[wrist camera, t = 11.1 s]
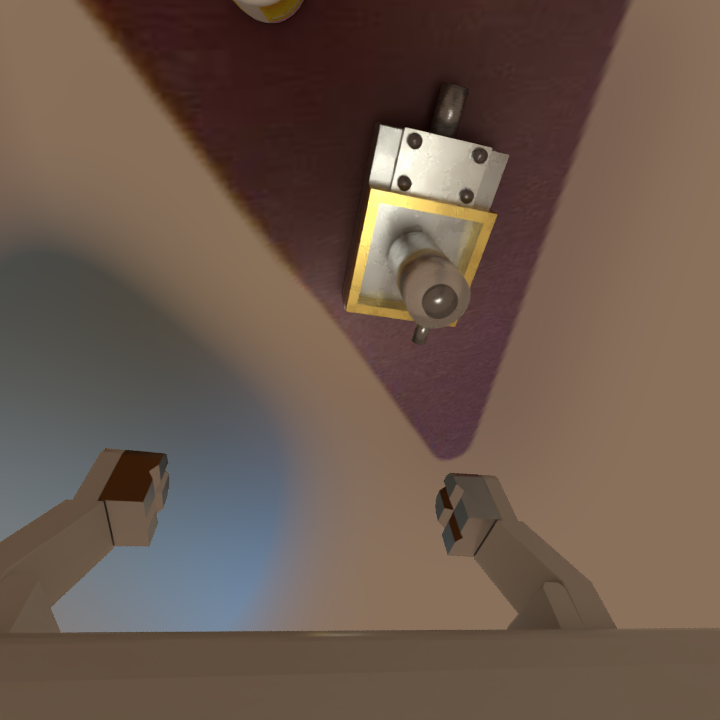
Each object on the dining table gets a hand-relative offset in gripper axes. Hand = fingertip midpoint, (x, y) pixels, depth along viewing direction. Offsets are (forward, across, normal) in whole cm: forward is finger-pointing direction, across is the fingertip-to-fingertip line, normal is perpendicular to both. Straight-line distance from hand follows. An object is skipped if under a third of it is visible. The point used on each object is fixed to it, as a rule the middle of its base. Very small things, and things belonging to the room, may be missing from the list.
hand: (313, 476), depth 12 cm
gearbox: (+35, -10, -1) cm, 37 cm away
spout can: (+31, -10, +4) cm, 33 cm away
